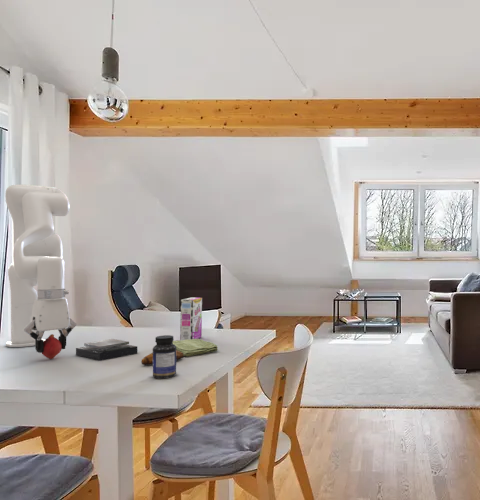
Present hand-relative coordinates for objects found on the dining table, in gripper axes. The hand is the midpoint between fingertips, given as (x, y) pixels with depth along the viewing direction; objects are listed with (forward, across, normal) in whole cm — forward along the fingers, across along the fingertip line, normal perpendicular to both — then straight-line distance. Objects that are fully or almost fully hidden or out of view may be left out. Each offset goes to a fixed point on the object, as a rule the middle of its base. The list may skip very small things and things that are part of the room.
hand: (51, 349), depth 155 cm
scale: (+3, -14, +8) cm, 16 cm away
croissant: (+3, -17, +35) cm, 39 cm away
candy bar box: (+3, -47, +10) cm, 48 cm away
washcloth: (+3, -33, +28) cm, 43 cm away
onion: (+3, 0, 0) cm, 3 cm away
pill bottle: (+3, -7, +50) cm, 51 cm away
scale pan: (0, -14, +8) cm, 16 cm away
